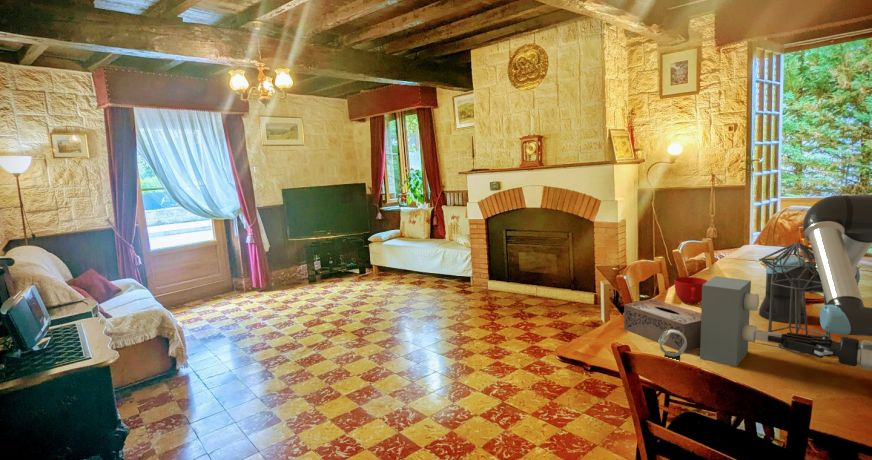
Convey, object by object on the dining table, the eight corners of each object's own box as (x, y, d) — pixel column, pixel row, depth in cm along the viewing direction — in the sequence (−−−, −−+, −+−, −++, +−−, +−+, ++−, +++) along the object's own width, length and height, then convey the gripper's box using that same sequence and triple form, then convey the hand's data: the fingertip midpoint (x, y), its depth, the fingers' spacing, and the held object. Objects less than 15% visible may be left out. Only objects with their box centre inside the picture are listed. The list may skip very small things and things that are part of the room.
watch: (658, 359, 150) (658, 326, 149) (686, 363, 146) (687, 329, 145) (656, 366, 145) (657, 332, 144) (686, 370, 142) (687, 335, 140)
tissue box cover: (624, 330, 178) (624, 304, 176) (652, 323, 183) (652, 298, 182) (683, 353, 154) (684, 324, 153) (713, 345, 160) (714, 317, 158)
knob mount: (747, 352, 152) (750, 280, 149) (736, 366, 142) (739, 289, 139) (713, 345, 159) (715, 276, 156) (699, 358, 149) (702, 285, 146)
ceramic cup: (676, 308, 199) (676, 285, 198) (672, 297, 215) (673, 276, 213) (711, 310, 194) (711, 287, 193) (705, 299, 210) (705, 277, 209)
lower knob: (756, 339, 146) (757, 324, 145) (752, 344, 142) (753, 328, 142) (723, 333, 152) (724, 318, 152) (719, 337, 149) (719, 322, 148)
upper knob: (758, 308, 144) (759, 292, 144) (754, 312, 141) (755, 296, 140) (725, 303, 151) (726, 288, 150) (720, 307, 147) (721, 291, 147)
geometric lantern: (841, 352, 147) (841, 242, 144) (803, 361, 143) (802, 248, 140) (791, 337, 163) (790, 237, 159) (756, 345, 158) (754, 243, 155)
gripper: (861, 333, 131) (761, 317, 148) (858, 347, 122) (751, 328, 139) (859, 358, 132) (759, 339, 149) (856, 374, 123) (750, 352, 140)
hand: (755, 334), depth 144 cm, fingers closed
